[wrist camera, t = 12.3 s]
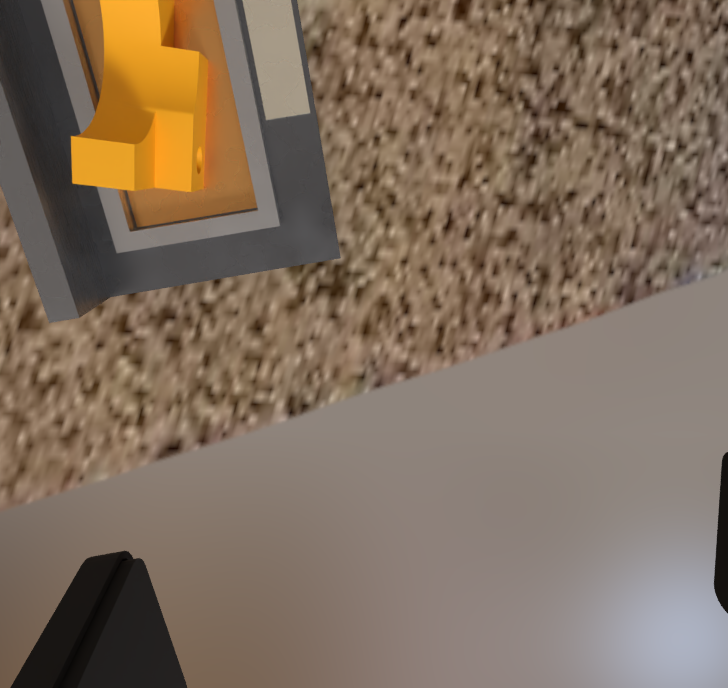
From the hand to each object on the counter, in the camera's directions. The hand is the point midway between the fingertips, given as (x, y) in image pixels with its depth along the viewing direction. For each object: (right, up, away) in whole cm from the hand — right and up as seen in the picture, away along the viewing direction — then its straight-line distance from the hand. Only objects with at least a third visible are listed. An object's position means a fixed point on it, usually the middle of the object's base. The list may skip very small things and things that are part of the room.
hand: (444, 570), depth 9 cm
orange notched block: (-12, +18, +20) cm, 29 cm away
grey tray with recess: (-12, +18, +21) cm, 30 cm away
